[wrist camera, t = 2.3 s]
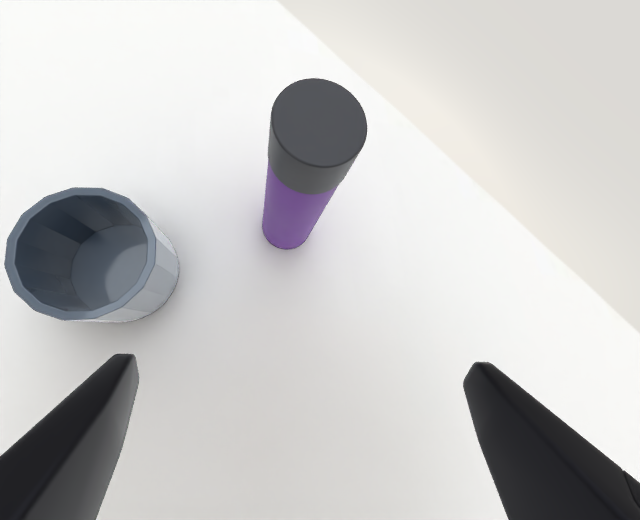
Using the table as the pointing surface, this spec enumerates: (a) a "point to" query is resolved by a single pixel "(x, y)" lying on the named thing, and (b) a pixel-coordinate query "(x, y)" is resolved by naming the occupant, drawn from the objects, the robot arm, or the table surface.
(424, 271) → the table surface
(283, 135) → the glue stick
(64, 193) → the pen holder
